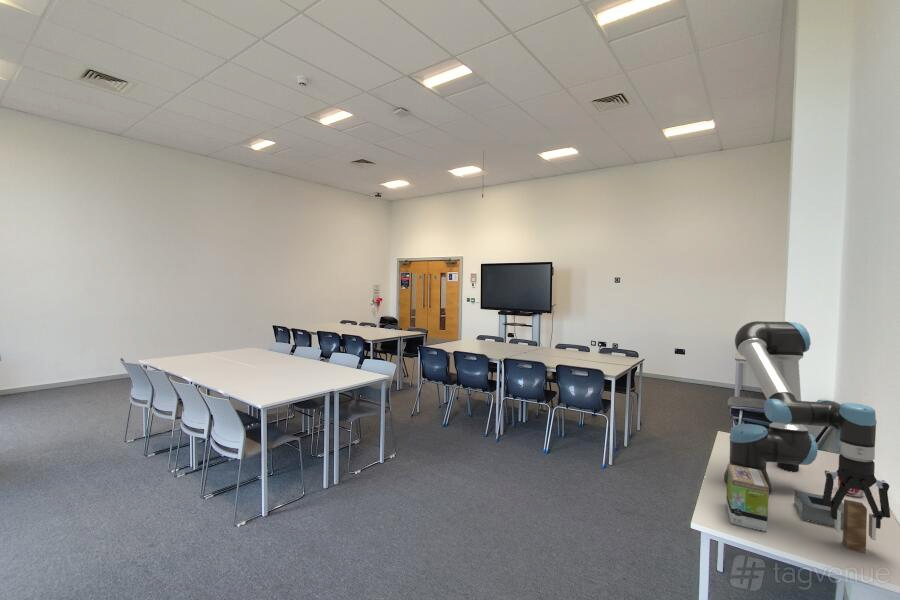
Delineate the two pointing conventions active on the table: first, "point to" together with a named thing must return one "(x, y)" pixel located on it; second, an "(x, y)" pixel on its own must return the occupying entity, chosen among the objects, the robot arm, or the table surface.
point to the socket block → (815, 508)
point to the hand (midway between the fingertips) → (854, 533)
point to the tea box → (747, 497)
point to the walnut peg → (854, 525)
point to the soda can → (852, 490)
